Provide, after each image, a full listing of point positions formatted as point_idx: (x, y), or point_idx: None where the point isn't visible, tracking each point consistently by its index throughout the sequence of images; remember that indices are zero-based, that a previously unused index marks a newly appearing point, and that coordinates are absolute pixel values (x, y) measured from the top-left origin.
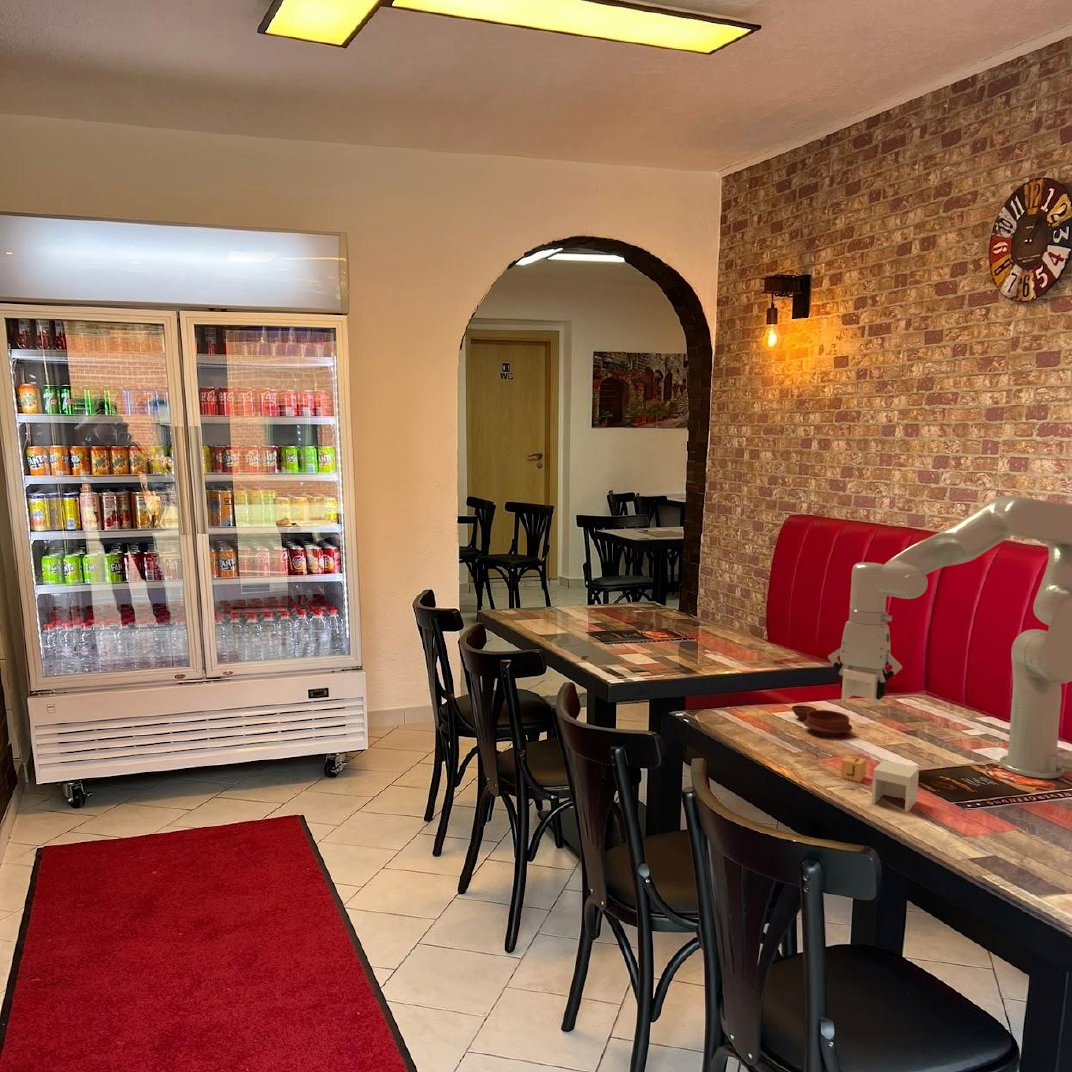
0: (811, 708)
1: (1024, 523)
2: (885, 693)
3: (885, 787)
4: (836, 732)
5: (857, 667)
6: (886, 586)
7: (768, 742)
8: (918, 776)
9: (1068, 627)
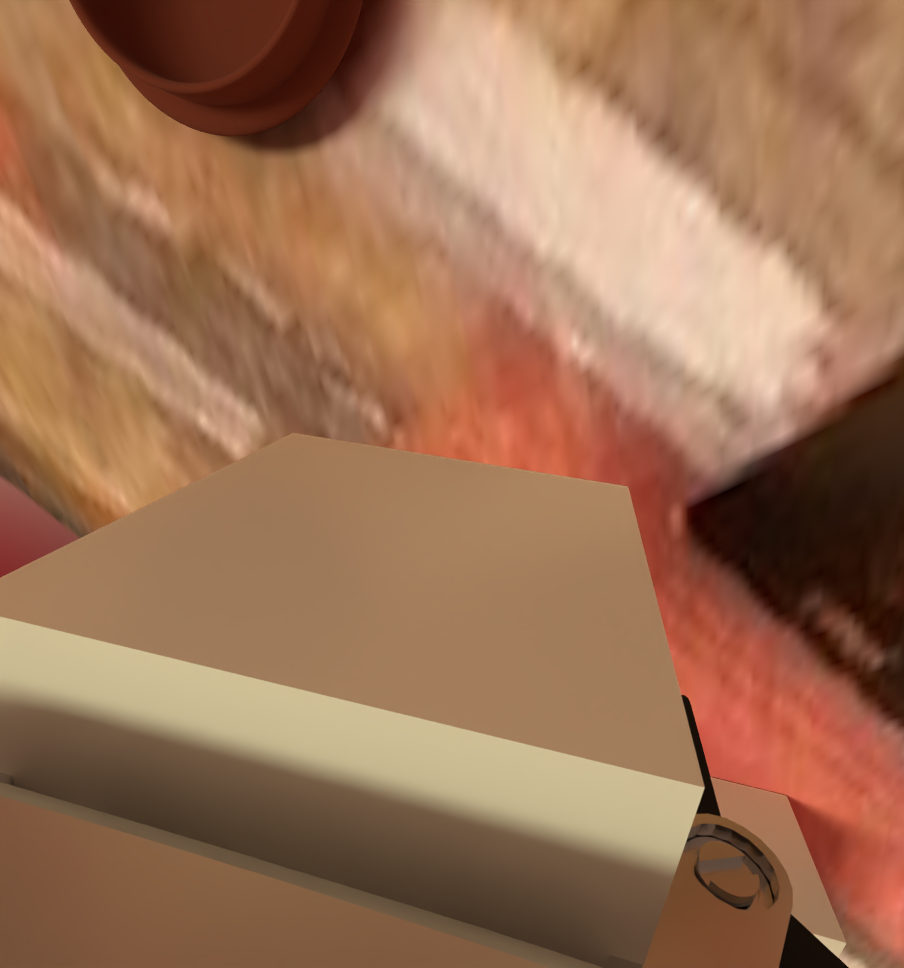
0: None
1: None
2: (686, 701)
3: None
4: (311, 100)
5: (118, 795)
6: None
7: (113, 384)
8: (827, 897)
9: None
